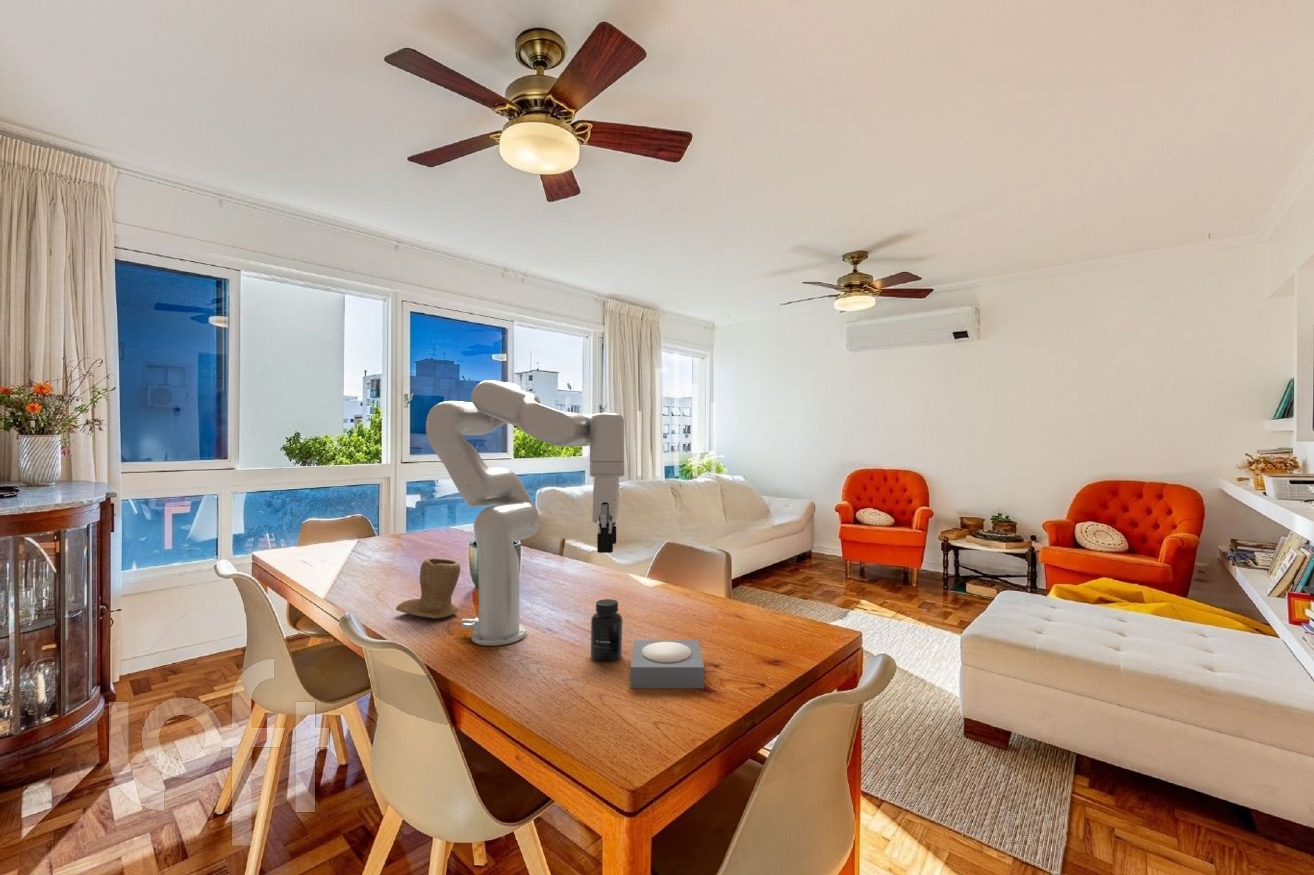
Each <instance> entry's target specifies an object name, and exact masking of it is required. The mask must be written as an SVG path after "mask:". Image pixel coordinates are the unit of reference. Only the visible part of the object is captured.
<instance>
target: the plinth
mask: <svg viewBox="0 0 1314 875" xmlns="http://www.w3.org/2000/svg"><path fill="white" fill-rule="evenodd" d="M630 689H705V665H704V661H703V657H702V653H701V647H700V640H699V639H697V640H694V639H693V640H690V639H688V640H687V639H686V640H685V639H684V640H683V639H681V640H680V639H679V640H678V639H677V640H676V639H675V640H674V639H673V640H671V639H668V640H667V639H666V640H665V639H663V640H662V639H660V640H659V639H648V640H647V639H645V640H644V639H642V640H640V639H639V640H638V639H634V640H633V643H632V653H631V661H630Z"/></svg>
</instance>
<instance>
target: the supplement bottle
mask: <svg viewBox="0 0 1314 875" xmlns="http://www.w3.org/2000/svg"><path fill="white" fill-rule="evenodd" d="M595 603H596V604H595V611H596V612H595V613H594V614H593V615H592V616H591V619H590V658H591V659H592V660H594V661H596V662H599V663H613V662H616V661H618V660H620V658H621V657H622V654H623V653H622V651H623V617H622V615H621V614H620V613H619V601H617V600H615V599H611V598H610V599H609V598H606V599H605V598H604V599H599V600H597V601H596V602H595Z"/></svg>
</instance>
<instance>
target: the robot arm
mask: <svg viewBox="0 0 1314 875" xmlns="http://www.w3.org/2000/svg"><path fill="white" fill-rule="evenodd" d="M506 424H510V425H512V426H515V427H517V428H519V429H520V430H521V431H522V432H523V433H524V434H526V435H528V436H529V437H532V438H534V439H537V440H539V441H542V442H544V443H547V444H549V445H552V446H556V447H564V448H566V447H589V477H591V478H594V479H593V486H592V487H593V491H592V492H593V494H592V495H593V496H592V523H593V524H596V523H597V522H598V525H597V526H598V527H597V528H598V529H597V534H596V540H597V542H596V543H597V550H596V551H597V553H599V554H600V553H601V554H611V553H613V551H614V545H616V544H617V525H616V523H617V522H616V521H617V519H618V517H619V516H618V514H619V504H620V502H619V500H620V478H622V477H625V419H624V417H623V415H622V414H620V413H618V412H617V413H616V412H598V413H594V414H591V413H581V412H572V411H571V412H569V411H562V410H558V409H555V408H552V407H549V406H546V405H544V404H541V400H540V398H539V397H538V396H537V395H536V394H534V393H531V392H529V391H525V390H524V389H523V388H522V386H520V385H518V384H516V383H513V382H507V381H505V382H504V381H500V380H491V379H489V380H483V381H481V382H479V383H477V384H476V385H475V386H474V387H473V390H472V392H471V402H469V401H458V400H448V401H442V402H439V403H437V404H435V405H434V406H432V408H430V410H429V412H428V414H427V418H426V422H425V431H426V432H425V433H426V436H427V440H428V443H429V444H430V447H431V448H432V450H433V452H434V453H435V454H436V456H437V457H438V458H439V460H440V461H441V462H442V464H443V465H444V467H445V469H446V470H447V472H448V474H449V476H450V478H451V481H452V482H453V484H454V486H455V487H456V489H457V491H458V493H459V494H460V496H461V498H462V500H463V501H464V502H465V504H467V505H468V506H470V507H473V508H482V507H486V508H484V509H482V510H481V511H480V512H479V513H478V514H477V516H476V517H475V520H474V522H473V534H474V538H475V543H476V548H477V549H476V551H477V565H478V567H477V568H478V569H477V570H478V572H477V574H478V580H477V581H478V582H477V583H478V585H477V586H478V588H477V589H478V591H477V592H478V595H477V597H478V599H477V600H478V602H477V604H478V610H477V611H478V613H477V615H478V616H477V617H475V618H474V619H473V618H462V619H461V622H460V626H461V628H462V629H463V630H472V633H471V636H470V637H471V641H472V642H473V643H475V644H476V645H480V646H488V647H489V646H496V647H497V646H504V645H509V644H513V643H516V642H518V641H520V640H522V639H523V638H525V636H526V634H527V628H526V627H525V626H524V625H521V624H520V558H519V555H518V551H517V549H516V548H515V544H514V542H517V541H518V542H519V541H521V540H525V539H528V538H530V537H532V536H534V535H535V534H536V533H537V531H538V530H539V527H540V524H541V523H540V521H541V519H540V514H539V511H538V509H537V506H536V505H535V503H534V502H533V500H532V498H531V496H530V494H529V492H528V491H527V490H526V488H525V486H524V484H523V483H522V481H521V480H520V478H519V477H518V475H517V474H516V473H515V472H513V471H512V470H511V469H509V468H506V467H502V466H499V467H497V466H494V467H490V466H488V465H487V464H486V463H485V462H484V460H483V459H482V457H481V456H480V453H479V452H478V450H477V448H476V447H474V446H473V445H472V444H471V443H470V442H469V441H467V439H466V438H464V436H485V435H488V434H491V433H492V432H494V431H496V430H497V429H499V428H501V427H502V426H504V425H506Z"/></svg>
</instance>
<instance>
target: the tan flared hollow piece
mask: <svg viewBox="0 0 1314 875" xmlns="http://www.w3.org/2000/svg"><path fill="white" fill-rule="evenodd" d="M460 574H461V565H460V563H459V562H458V561H456V560H452V559H445V558H437V557H435V558H434V557H432V558H431V557H429V558H425V559H424V561H423V562H422V563H421V565H420V571H419V585H420V592H421V595H420V598H413V599H408V600H405V601H402V602H400V603H399V604H397V606H395V607H396V608H395V610H396V611H397V612H401V613H405V614H409V615H413V616H417V617H421V618H428V619H441V618H447V617H450V616H452V615H454V614H456V613H457V612H458V611H459V607H457V606H456V605H454V604H453V603H452V597H453V594H454V591H455V589H456V587H457V583H458V581H459V578H460Z"/></svg>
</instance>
